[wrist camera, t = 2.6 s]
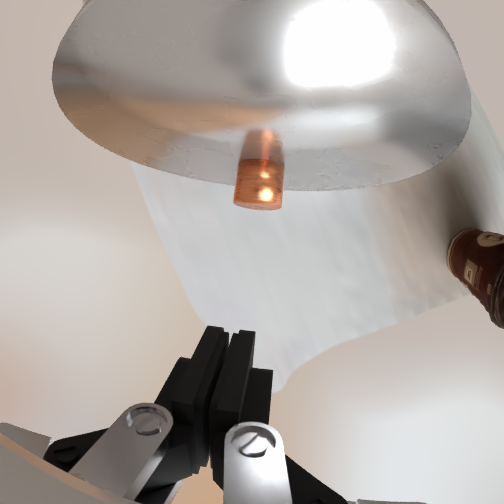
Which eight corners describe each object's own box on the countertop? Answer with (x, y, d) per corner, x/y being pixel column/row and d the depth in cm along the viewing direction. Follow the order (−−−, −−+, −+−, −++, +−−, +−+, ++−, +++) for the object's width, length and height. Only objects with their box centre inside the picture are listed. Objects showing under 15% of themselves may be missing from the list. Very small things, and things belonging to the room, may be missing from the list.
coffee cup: (453, 206, 27) (528, 232, 15) (499, 227, 27) (569, 257, 14) (430, 279, 30) (489, 335, 17) (476, 292, 29) (535, 342, 17)
